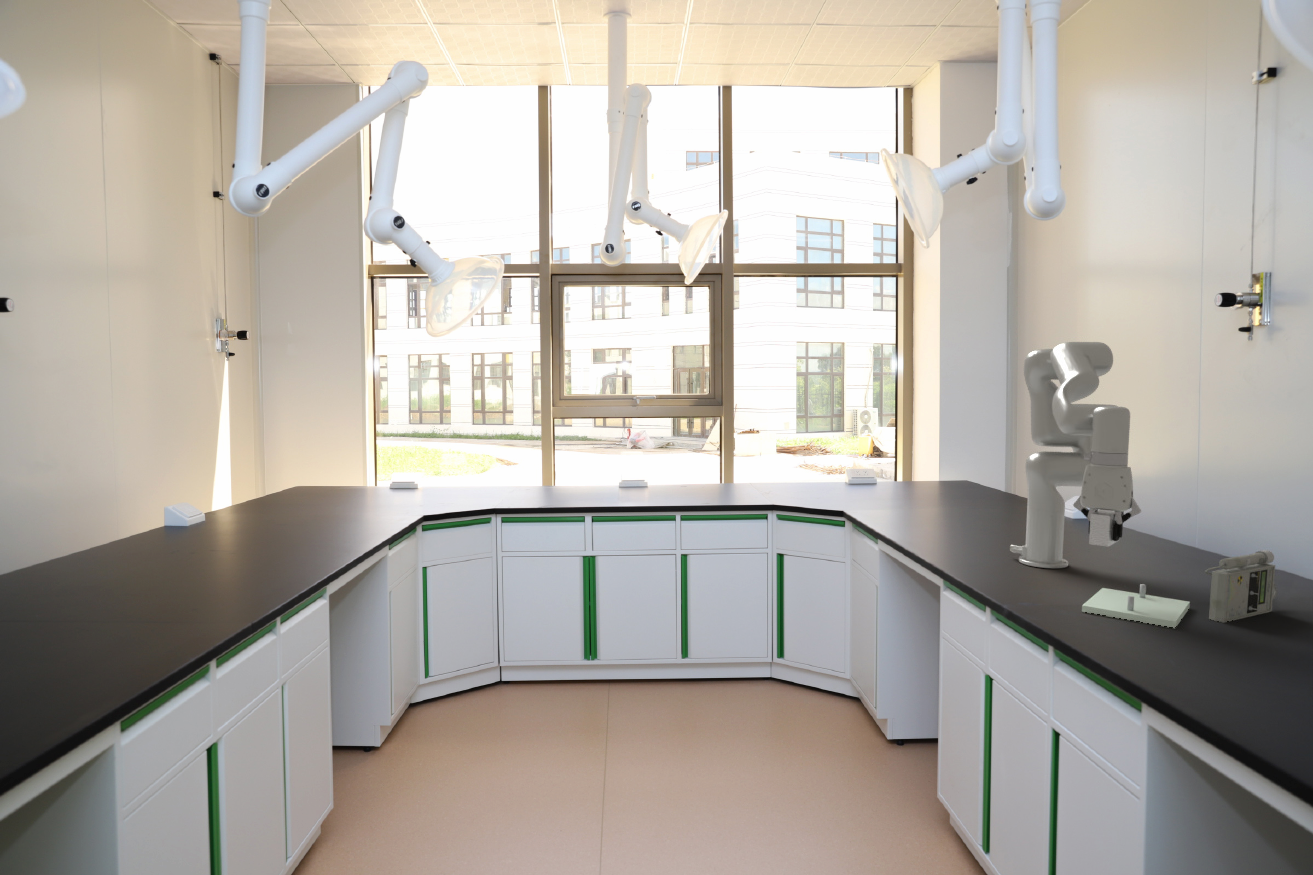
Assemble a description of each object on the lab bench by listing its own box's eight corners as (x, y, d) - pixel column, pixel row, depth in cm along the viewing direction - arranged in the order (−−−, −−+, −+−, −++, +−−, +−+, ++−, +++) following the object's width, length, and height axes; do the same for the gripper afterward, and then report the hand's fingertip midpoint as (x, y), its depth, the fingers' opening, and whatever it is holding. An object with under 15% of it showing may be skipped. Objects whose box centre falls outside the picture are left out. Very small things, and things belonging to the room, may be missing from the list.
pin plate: (1081, 611, 186) (1082, 592, 185) (1102, 593, 201) (1103, 575, 201) (1175, 628, 174) (1176, 607, 174) (1189, 608, 190) (1190, 588, 189)
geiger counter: (1232, 560, 176) (1294, 550, 188) (1201, 554, 182) (1263, 544, 194) (1227, 624, 178) (1289, 609, 189) (1197, 616, 183) (1258, 602, 195)
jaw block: (1089, 544, 188) (1090, 513, 188) (1100, 537, 196) (1102, 508, 195) (1108, 546, 186) (1110, 515, 185) (1119, 540, 193) (1121, 510, 193)
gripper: (1065, 458, 192) (1061, 536, 194) (1147, 464, 181) (1142, 546, 182) (1074, 456, 198) (1070, 531, 199) (1154, 461, 187) (1149, 541, 188)
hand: (1105, 538), depth 191 cm, fingers closed on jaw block, 4 cm apart
